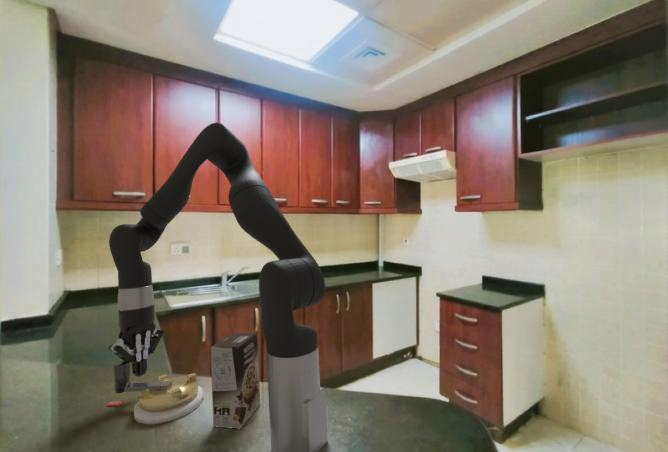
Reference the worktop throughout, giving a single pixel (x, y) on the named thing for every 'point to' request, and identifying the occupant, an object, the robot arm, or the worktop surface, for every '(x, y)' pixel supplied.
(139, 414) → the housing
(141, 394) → the gold oval piece
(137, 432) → the worktop surface
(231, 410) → the coffee box
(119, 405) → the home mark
